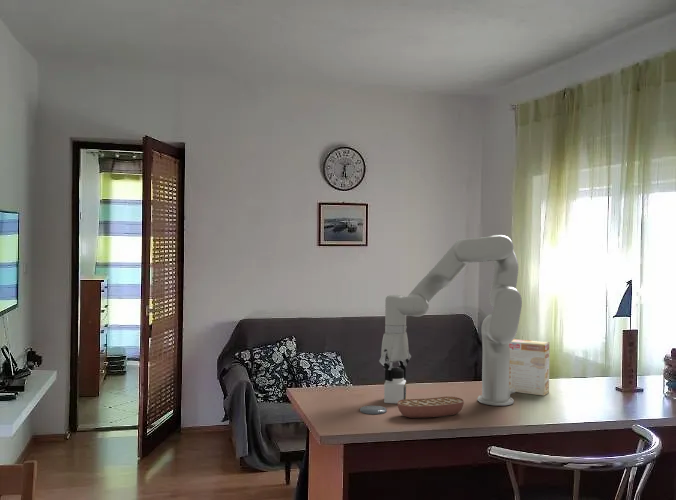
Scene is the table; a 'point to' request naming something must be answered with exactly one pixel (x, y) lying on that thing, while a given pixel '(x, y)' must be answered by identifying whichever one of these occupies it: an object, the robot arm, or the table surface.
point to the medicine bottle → (395, 387)
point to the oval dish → (430, 407)
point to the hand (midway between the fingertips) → (395, 378)
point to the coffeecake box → (529, 366)
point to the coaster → (373, 409)
